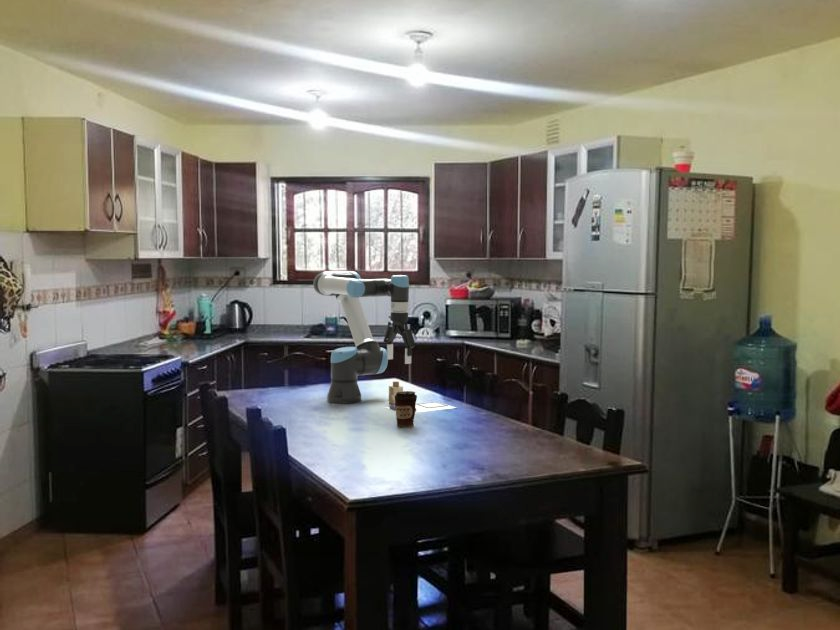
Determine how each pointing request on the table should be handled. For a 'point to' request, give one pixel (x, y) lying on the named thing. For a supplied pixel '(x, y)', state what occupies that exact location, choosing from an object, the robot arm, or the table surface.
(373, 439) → the table surface
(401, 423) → the coffee cup
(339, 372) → the robot arm
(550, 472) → the table surface
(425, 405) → the sheet
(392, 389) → the stamp
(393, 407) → the ink pad
